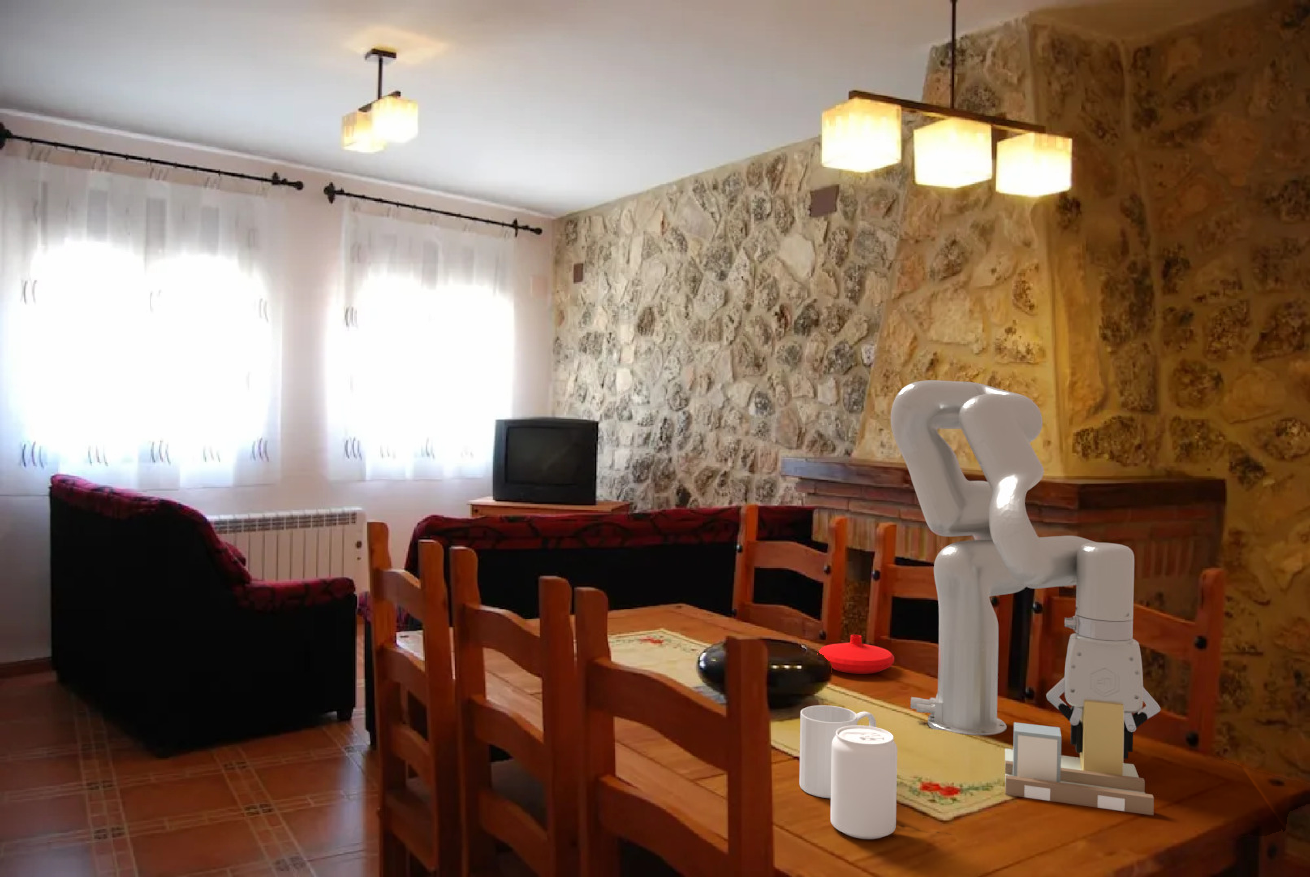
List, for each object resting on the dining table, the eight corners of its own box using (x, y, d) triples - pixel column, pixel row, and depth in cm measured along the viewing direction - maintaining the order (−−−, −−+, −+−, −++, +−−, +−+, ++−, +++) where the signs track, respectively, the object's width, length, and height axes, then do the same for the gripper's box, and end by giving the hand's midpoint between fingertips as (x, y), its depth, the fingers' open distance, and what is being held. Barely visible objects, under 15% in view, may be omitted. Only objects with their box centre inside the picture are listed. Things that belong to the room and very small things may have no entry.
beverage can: (823, 815, 123) (824, 724, 123) (883, 814, 124) (885, 723, 123) (840, 843, 115) (842, 746, 115) (905, 841, 116) (906, 745, 115)
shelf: (1005, 801, 128) (1005, 778, 128) (1004, 754, 146) (1005, 734, 146) (1153, 823, 122) (1154, 798, 122) (1133, 771, 140) (1134, 749, 140)
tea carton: (1124, 783, 133) (1125, 705, 132) (1083, 778, 134) (1084, 701, 134) (1118, 766, 139) (1119, 692, 139) (1079, 761, 141) (1080, 688, 141)
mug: (822, 803, 127) (823, 726, 127) (788, 782, 134) (789, 709, 134) (891, 788, 132) (893, 714, 132) (855, 769, 139) (856, 698, 139)
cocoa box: (1013, 788, 130) (1014, 731, 130) (1012, 778, 134) (1013, 722, 134) (1060, 795, 128) (1061, 737, 128) (1058, 784, 132) (1059, 727, 132)
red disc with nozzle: (902, 681, 188) (903, 645, 188) (823, 679, 188) (824, 644, 188) (884, 660, 203) (885, 628, 203) (811, 659, 204) (812, 626, 203)
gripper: (1040, 629, 136) (1038, 753, 136) (1174, 640, 130) (1171, 770, 130) (1038, 618, 143) (1036, 737, 143) (1165, 628, 137) (1163, 752, 137)
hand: (1100, 751), depth 137 cm, fingers open, 5 cm apart
